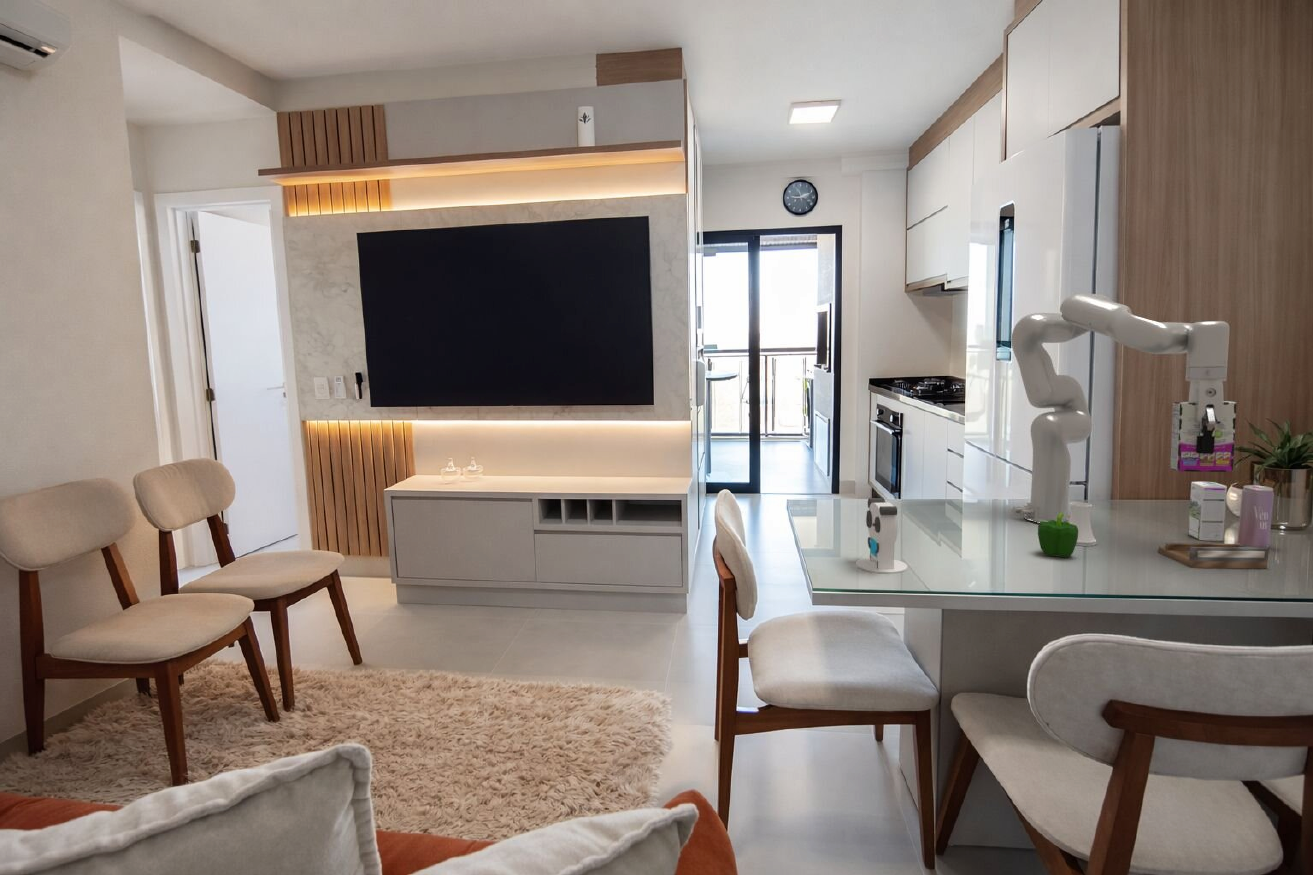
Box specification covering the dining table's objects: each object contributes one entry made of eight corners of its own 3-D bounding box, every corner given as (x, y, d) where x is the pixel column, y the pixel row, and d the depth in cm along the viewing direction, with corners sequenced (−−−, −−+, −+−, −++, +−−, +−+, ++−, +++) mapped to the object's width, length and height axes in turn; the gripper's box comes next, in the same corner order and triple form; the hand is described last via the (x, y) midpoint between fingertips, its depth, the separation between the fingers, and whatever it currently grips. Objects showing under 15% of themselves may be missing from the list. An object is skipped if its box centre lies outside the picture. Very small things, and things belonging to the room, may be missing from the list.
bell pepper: (1062, 562, 164) (1065, 520, 162) (1030, 553, 171) (1032, 513, 170) (1084, 556, 167) (1087, 515, 166) (1051, 548, 175) (1054, 509, 173)
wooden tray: (1192, 567, 158) (1194, 548, 157) (1158, 552, 170) (1159, 534, 170) (1268, 568, 157) (1269, 549, 156) (1227, 553, 169) (1229, 534, 168)
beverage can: (1261, 544, 176) (1267, 485, 174) (1273, 550, 170) (1279, 490, 168) (1232, 542, 178) (1238, 484, 176) (1243, 548, 172) (1249, 488, 170)
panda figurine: (850, 557, 169) (851, 496, 167) (897, 557, 168) (899, 496, 167) (863, 573, 157) (864, 508, 155) (914, 573, 157) (916, 507, 155)
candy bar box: (1223, 469, 167) (1227, 400, 165) (1233, 472, 162) (1238, 402, 160) (1168, 468, 170) (1172, 400, 168) (1176, 471, 165) (1181, 402, 163)
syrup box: (1224, 541, 179) (1229, 485, 177) (1198, 540, 180) (1202, 485, 178) (1211, 535, 185) (1216, 481, 183) (1186, 534, 186) (1190, 480, 184)
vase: (1093, 539, 182) (1096, 502, 181) (1097, 547, 175) (1100, 508, 174) (1060, 537, 185) (1062, 500, 184) (1063, 544, 178) (1065, 505, 177)
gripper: (1237, 375, 154) (1232, 457, 156) (1215, 373, 169) (1210, 448, 171) (1195, 375, 157) (1190, 455, 159) (1177, 374, 173) (1173, 447, 175)
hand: (1201, 450), depth 165 cm, fingers closed on candy bar box, 5 cm apart
